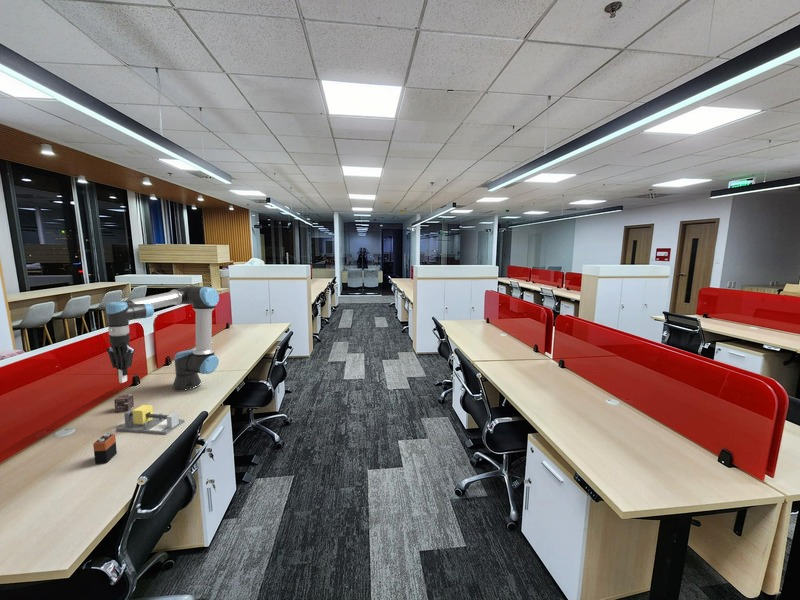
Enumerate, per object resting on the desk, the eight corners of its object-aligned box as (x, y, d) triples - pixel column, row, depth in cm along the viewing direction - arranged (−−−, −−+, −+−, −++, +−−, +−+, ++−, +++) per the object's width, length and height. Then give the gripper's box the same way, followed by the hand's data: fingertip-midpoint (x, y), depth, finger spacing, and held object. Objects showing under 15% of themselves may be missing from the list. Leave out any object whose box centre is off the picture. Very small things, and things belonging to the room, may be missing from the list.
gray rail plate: (138, 418, 168) (137, 406, 167) (184, 421, 166) (183, 409, 166) (116, 430, 156) (115, 417, 156) (165, 434, 155) (165, 421, 154)
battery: (117, 453, 139) (115, 431, 138) (107, 463, 133) (105, 440, 131) (105, 454, 138) (103, 432, 137) (94, 464, 132) (92, 441, 130)
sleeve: (144, 417, 165) (143, 404, 164) (153, 418, 164) (152, 405, 163) (133, 423, 159) (132, 410, 158) (143, 424, 158) (142, 411, 157)
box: (114, 412, 174) (113, 399, 173) (121, 407, 180) (120, 395, 179) (128, 411, 175) (127, 398, 174) (134, 406, 181) (133, 394, 180)
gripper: (98, 335, 153) (103, 383, 156) (124, 336, 152) (128, 385, 155) (114, 331, 161) (118, 378, 164) (138, 333, 160) (142, 379, 163)
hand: (123, 381), depth 159 cm, fingers closed
